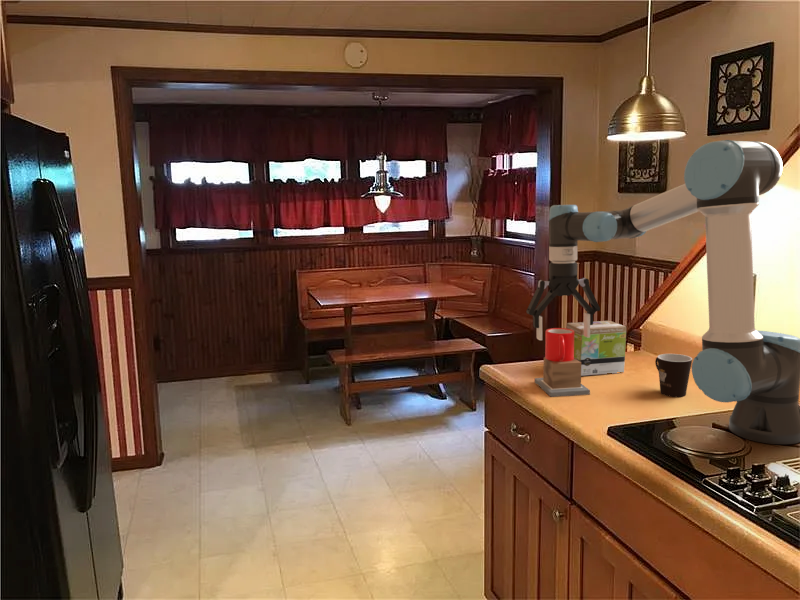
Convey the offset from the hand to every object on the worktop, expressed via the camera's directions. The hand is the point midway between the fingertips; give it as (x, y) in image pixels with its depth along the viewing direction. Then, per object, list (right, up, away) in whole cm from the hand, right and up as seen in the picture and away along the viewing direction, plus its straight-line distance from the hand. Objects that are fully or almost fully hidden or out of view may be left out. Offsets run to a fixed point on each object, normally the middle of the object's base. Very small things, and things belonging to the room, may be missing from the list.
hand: (563, 338), depth 184 cm
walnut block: (0, -13, +3) cm, 13 cm away
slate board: (0, -14, +3) cm, 15 cm away
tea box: (+14, -11, +19) cm, 27 cm away
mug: (-1, -6, +1) cm, 6 cm away
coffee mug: (+29, -15, -3) cm, 33 cm away
